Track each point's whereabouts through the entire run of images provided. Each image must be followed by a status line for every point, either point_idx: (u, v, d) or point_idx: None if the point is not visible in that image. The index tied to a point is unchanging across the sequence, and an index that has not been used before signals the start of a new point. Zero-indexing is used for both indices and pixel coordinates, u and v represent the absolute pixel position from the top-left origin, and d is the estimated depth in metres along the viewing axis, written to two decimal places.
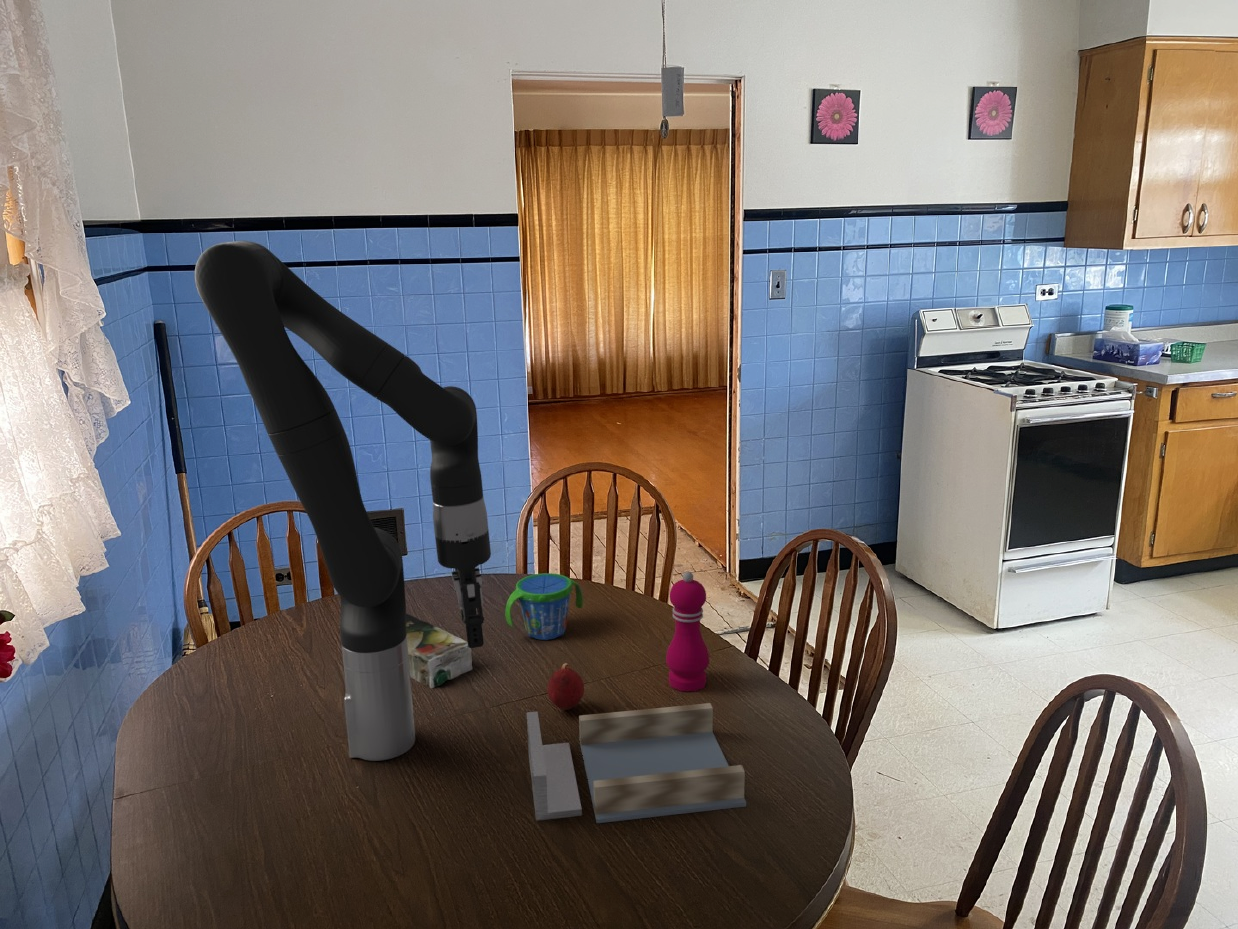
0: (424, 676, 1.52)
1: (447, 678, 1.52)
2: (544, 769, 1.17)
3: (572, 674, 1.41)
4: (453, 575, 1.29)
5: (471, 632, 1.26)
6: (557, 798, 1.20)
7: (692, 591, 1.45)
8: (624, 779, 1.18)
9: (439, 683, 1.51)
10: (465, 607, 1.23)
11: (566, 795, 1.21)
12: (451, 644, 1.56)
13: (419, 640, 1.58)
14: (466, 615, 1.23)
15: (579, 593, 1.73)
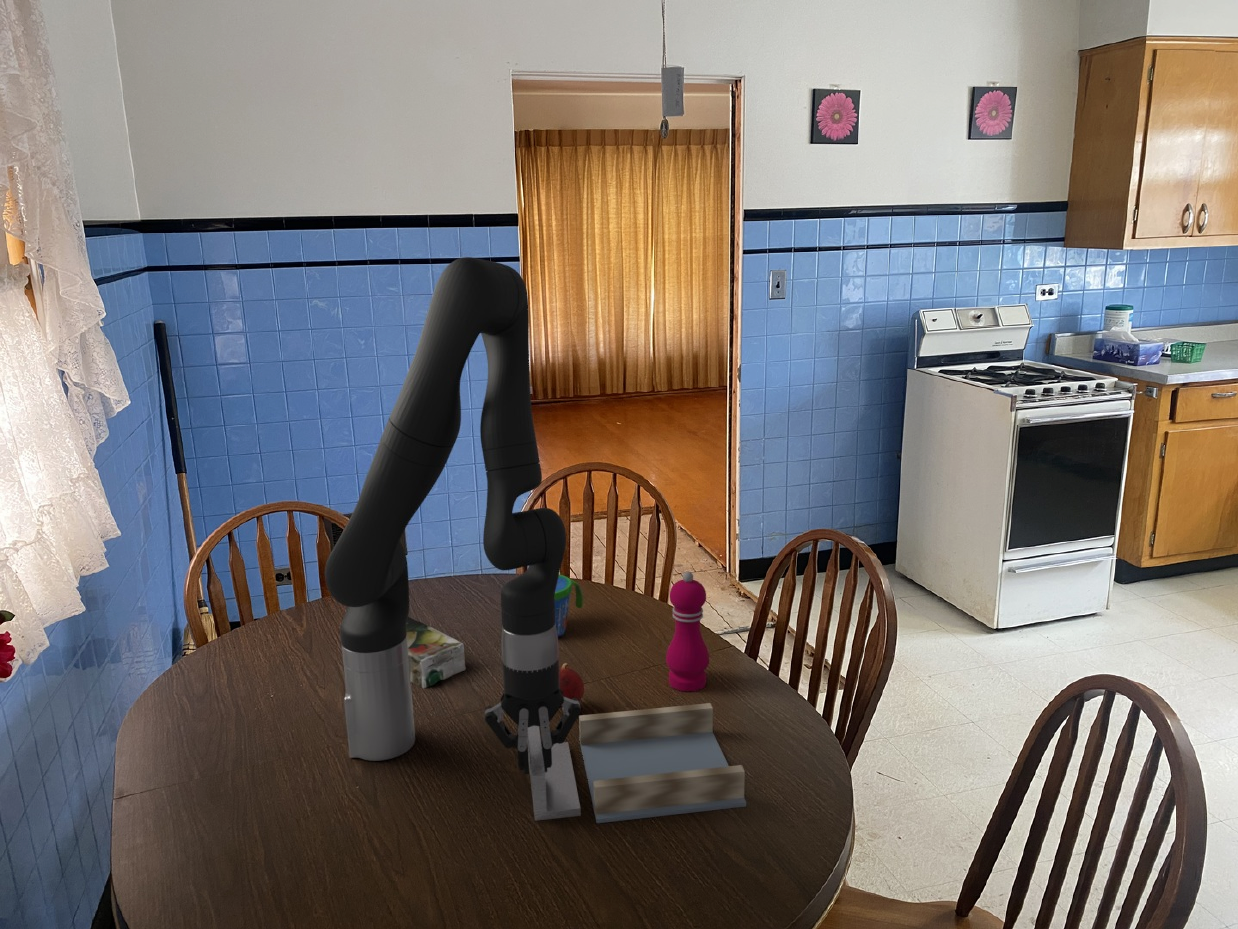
0: (416, 676, 1.52)
1: (439, 678, 1.52)
2: (543, 768, 1.17)
3: (572, 674, 1.41)
4: (526, 708, 1.20)
5: None
6: (556, 797, 1.20)
7: (692, 591, 1.45)
8: (624, 779, 1.18)
9: (431, 683, 1.51)
10: (571, 726, 1.22)
11: (565, 794, 1.21)
12: (444, 644, 1.56)
13: (412, 640, 1.58)
14: (567, 733, 1.22)
15: (579, 593, 1.73)
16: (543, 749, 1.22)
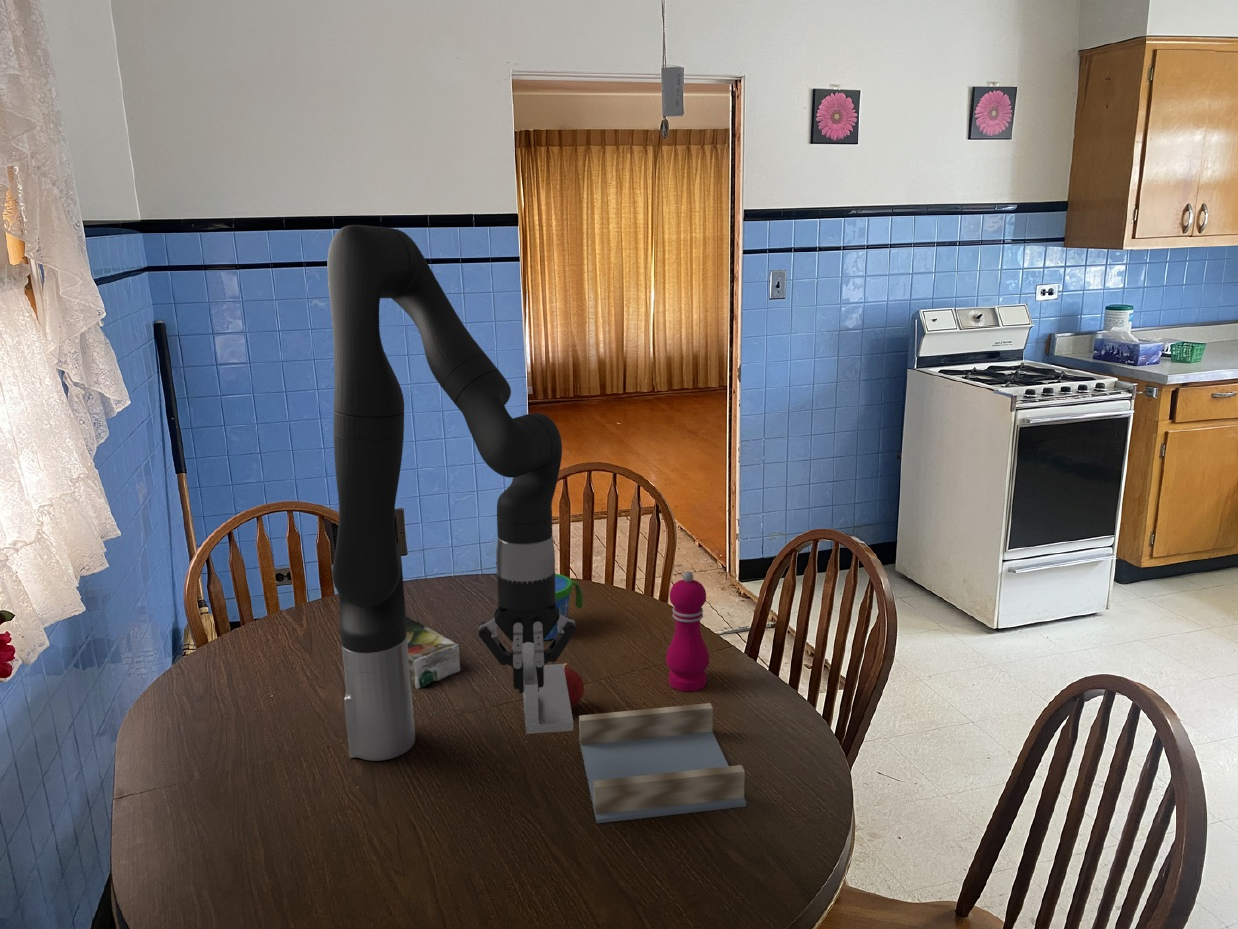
0: (410, 676, 1.52)
1: (433, 679, 1.52)
2: (536, 679, 1.13)
3: (572, 674, 1.41)
4: (520, 622, 1.16)
5: (543, 672, 1.20)
6: (548, 712, 1.16)
7: (692, 591, 1.45)
8: (624, 779, 1.18)
9: (424, 684, 1.51)
10: (565, 645, 1.19)
11: (558, 709, 1.17)
12: (439, 645, 1.56)
13: (408, 640, 1.58)
14: (561, 652, 1.19)
15: (579, 593, 1.73)
16: None
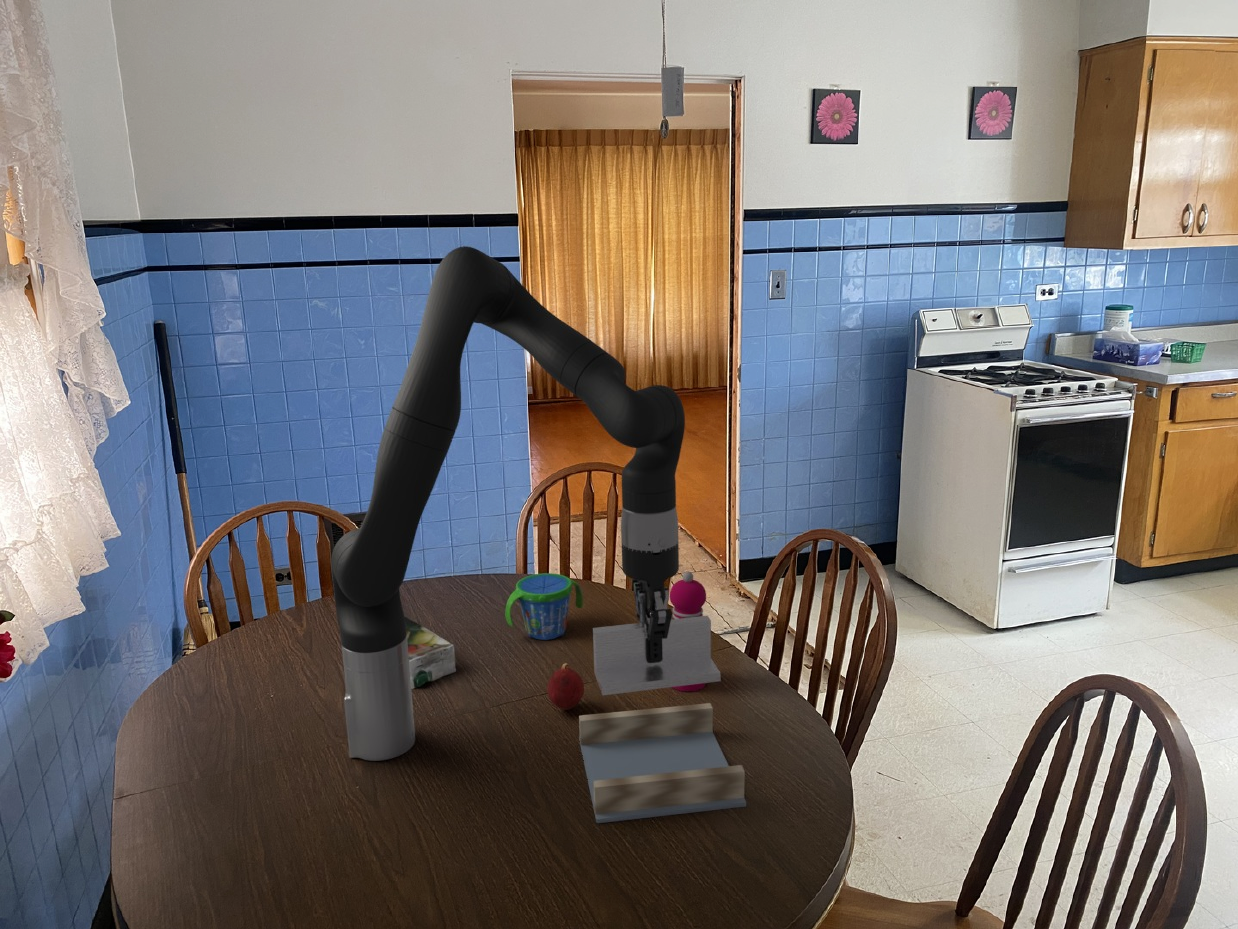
0: None
1: (427, 679, 1.52)
2: (604, 631, 1.20)
3: (572, 674, 1.41)
4: (636, 585, 1.21)
5: (652, 647, 1.20)
6: (619, 674, 1.20)
7: (692, 591, 1.45)
8: (624, 779, 1.18)
9: (419, 684, 1.51)
10: (652, 630, 1.16)
11: (624, 678, 1.19)
12: (434, 645, 1.56)
13: None
14: (651, 635, 1.17)
15: (579, 593, 1.73)
16: (646, 637, 1.21)
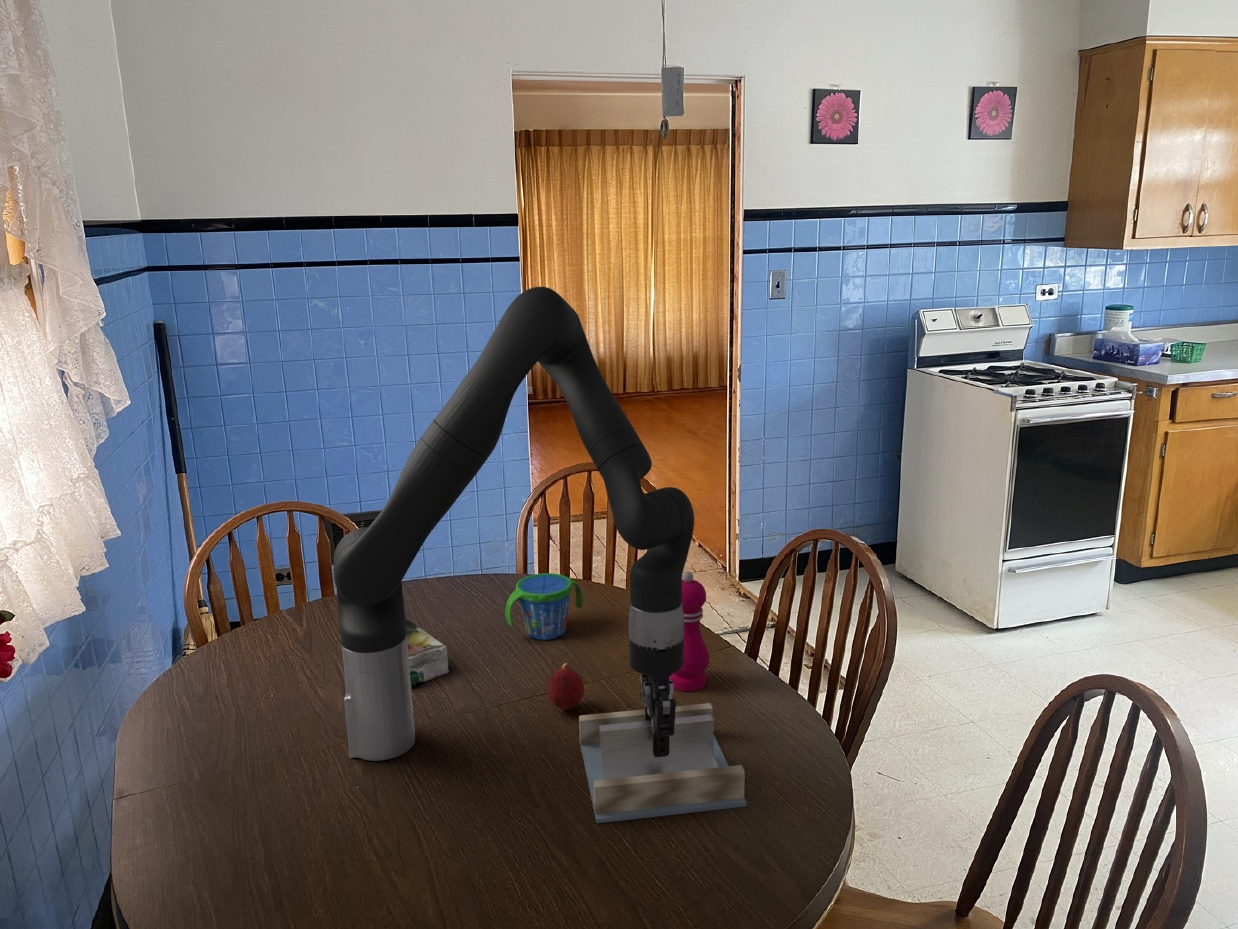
0: None
1: (419, 680, 1.52)
2: (610, 730, 1.24)
3: (572, 674, 1.41)
4: (642, 677, 1.24)
5: (659, 742, 1.22)
6: (623, 771, 1.24)
7: (692, 591, 1.45)
8: (624, 779, 1.18)
9: None
10: (658, 722, 1.19)
11: (627, 776, 1.23)
12: (427, 646, 1.56)
13: None
14: (658, 729, 1.19)
15: (579, 593, 1.73)
16: None
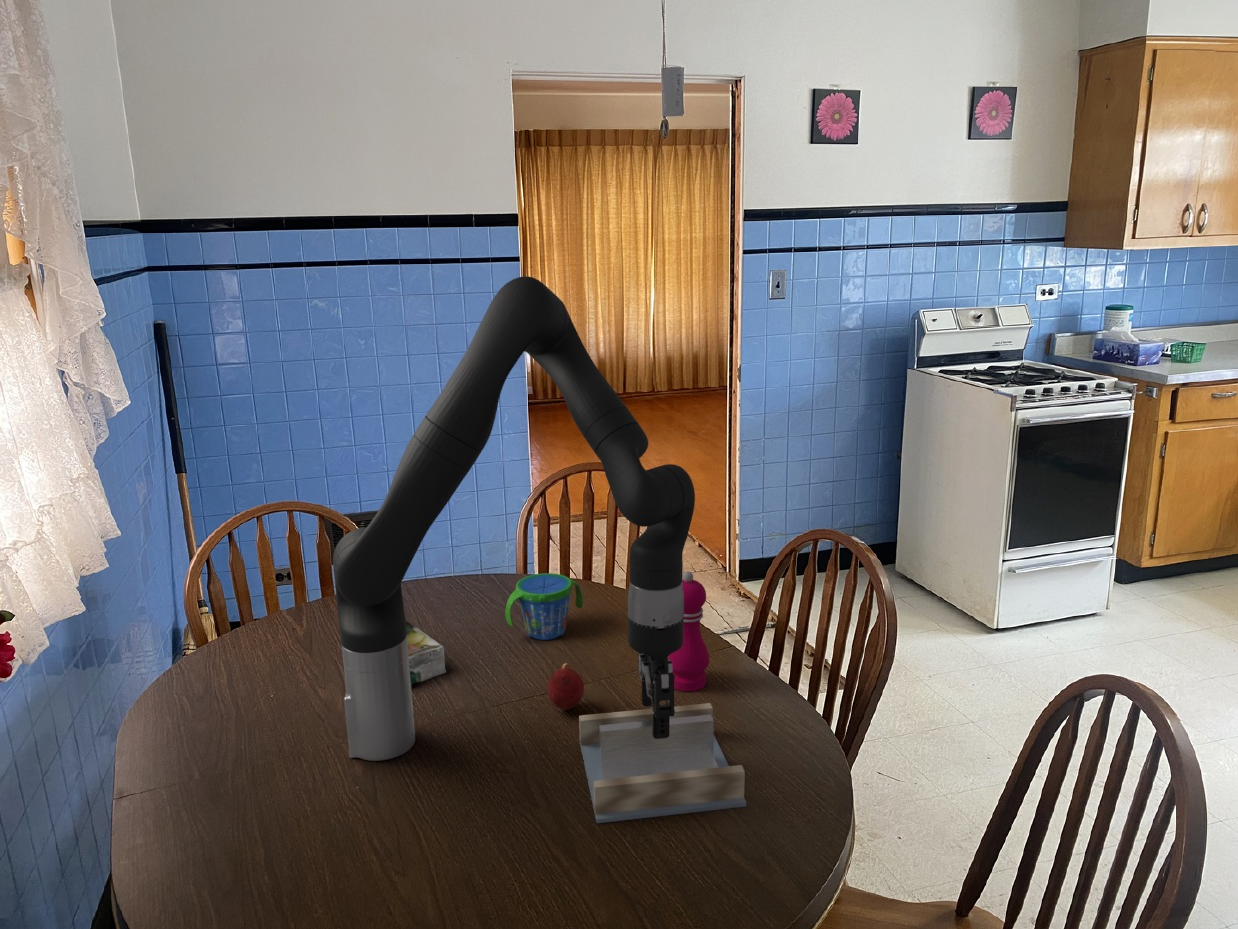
0: None
1: (416, 680, 1.52)
2: (610, 730, 1.24)
3: (572, 674, 1.41)
4: (641, 658, 1.23)
5: (658, 723, 1.19)
6: (623, 771, 1.24)
7: (692, 591, 1.45)
8: (624, 779, 1.18)
9: None
10: (657, 698, 1.16)
11: (627, 776, 1.23)
12: (424, 646, 1.56)
13: None
14: (657, 706, 1.16)
15: (579, 593, 1.73)
16: (653, 713, 1.20)
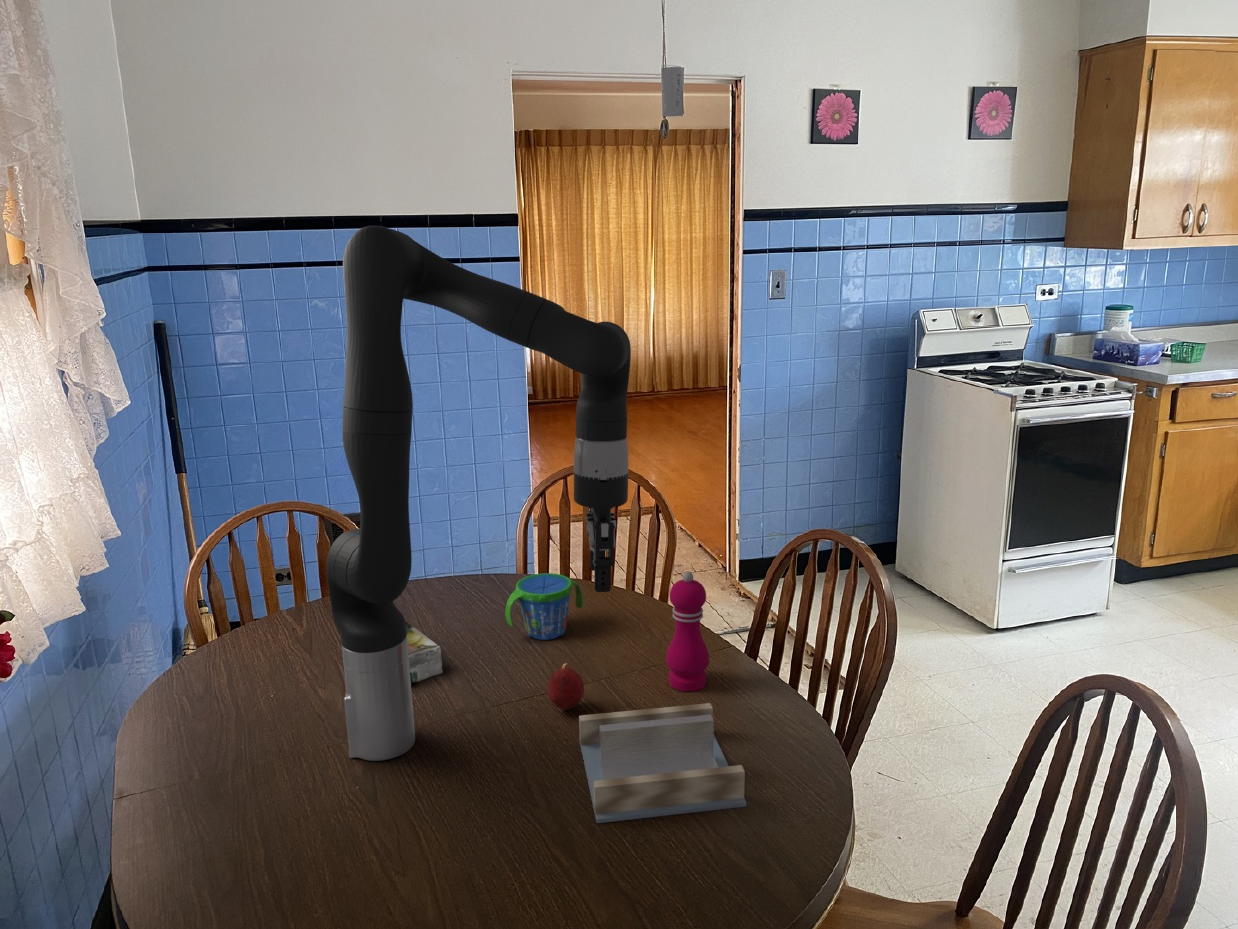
0: None
1: (412, 680, 1.52)
2: (610, 730, 1.24)
3: (572, 674, 1.41)
4: (587, 516, 1.26)
5: (599, 575, 1.22)
6: (623, 771, 1.24)
7: (692, 591, 1.45)
8: (624, 779, 1.18)
9: None
10: (597, 546, 1.19)
11: (627, 776, 1.23)
12: (421, 646, 1.56)
13: None
14: (597, 555, 1.19)
15: (579, 593, 1.73)
16: (595, 565, 1.23)
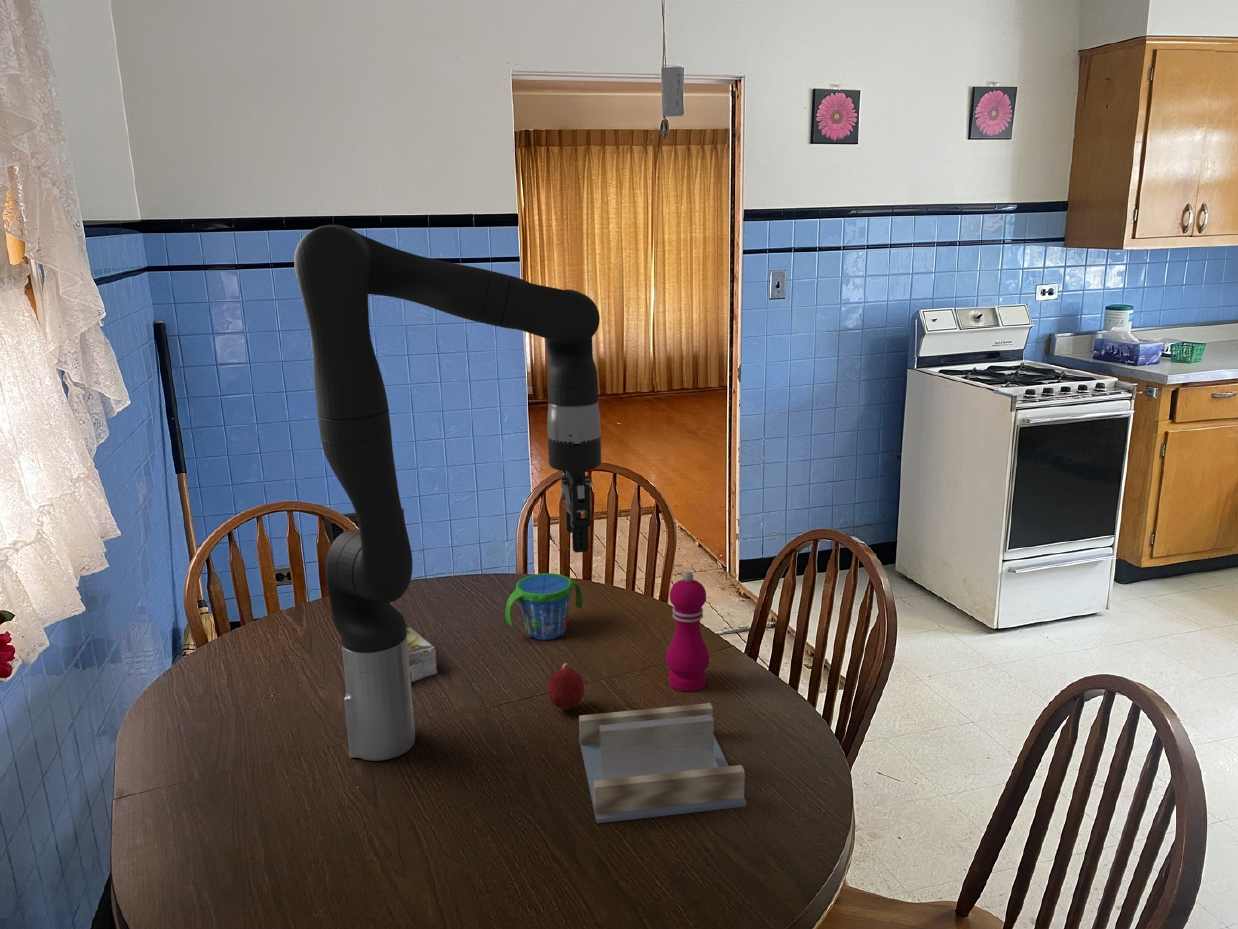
0: None
1: None
2: (610, 730, 1.24)
3: (572, 674, 1.41)
4: (562, 480, 1.30)
5: (577, 535, 1.26)
6: (623, 771, 1.24)
7: (692, 591, 1.45)
8: (624, 779, 1.18)
9: None
10: (574, 508, 1.23)
11: (627, 776, 1.23)
12: (416, 646, 1.56)
13: None
14: (574, 516, 1.23)
15: (579, 593, 1.73)
16: (573, 527, 1.27)
